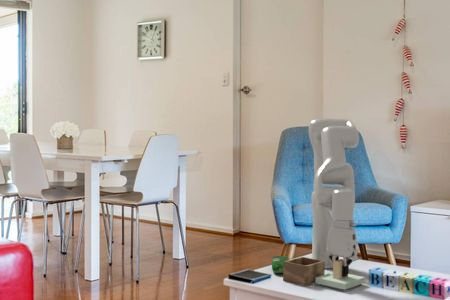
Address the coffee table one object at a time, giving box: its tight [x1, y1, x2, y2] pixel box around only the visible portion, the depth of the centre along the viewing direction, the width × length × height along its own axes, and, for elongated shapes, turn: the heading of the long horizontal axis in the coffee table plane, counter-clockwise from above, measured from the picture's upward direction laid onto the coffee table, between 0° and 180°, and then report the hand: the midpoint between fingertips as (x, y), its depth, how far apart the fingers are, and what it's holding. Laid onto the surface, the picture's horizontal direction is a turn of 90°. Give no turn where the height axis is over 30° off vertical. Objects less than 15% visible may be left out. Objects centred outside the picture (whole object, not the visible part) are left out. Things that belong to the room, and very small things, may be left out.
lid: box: [315, 258, 366, 290], centre depth 204 cm, size 14×12×8 cm
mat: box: [318, 284, 363, 292], centre depth 204 cm, size 11×11×1 cm
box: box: [282, 256, 326, 287], centre depth 210 cm, size 12×10×7 cm
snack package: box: [271, 255, 290, 274], centre depth 223 cm, size 7×16×5 cm, turn 176°
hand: (340, 275), depth 204 cm, fingers closed on lid, 2 cm apart
